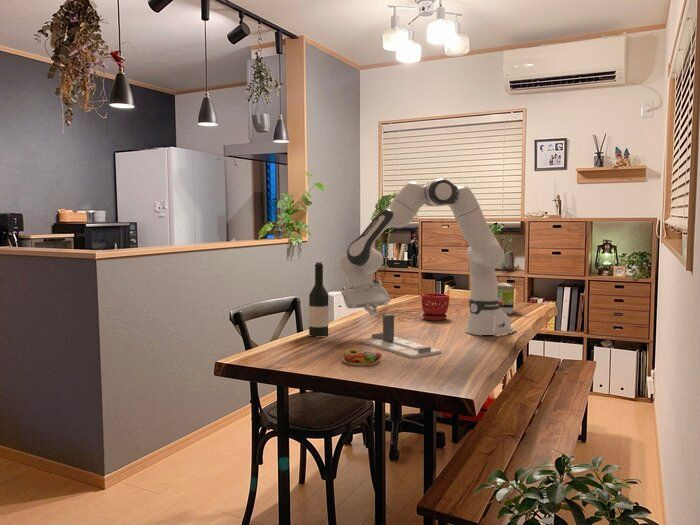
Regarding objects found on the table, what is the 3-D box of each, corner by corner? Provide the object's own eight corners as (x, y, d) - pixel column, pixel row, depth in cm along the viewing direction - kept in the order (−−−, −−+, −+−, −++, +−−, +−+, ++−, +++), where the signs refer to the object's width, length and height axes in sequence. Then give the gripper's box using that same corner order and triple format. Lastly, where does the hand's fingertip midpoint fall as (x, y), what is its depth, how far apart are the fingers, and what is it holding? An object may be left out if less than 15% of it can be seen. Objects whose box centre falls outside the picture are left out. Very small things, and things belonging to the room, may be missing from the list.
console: (389, 337, 226) (389, 331, 226) (441, 353, 201) (441, 346, 201) (361, 341, 218) (361, 335, 218) (411, 358, 193) (411, 350, 193)
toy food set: (344, 356, 196) (344, 347, 196) (382, 358, 195) (382, 348, 194) (339, 366, 183) (339, 357, 183) (380, 368, 182) (380, 358, 181)
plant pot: (450, 321, 263) (451, 296, 262) (422, 321, 263) (423, 295, 262) (446, 316, 276) (447, 292, 275) (419, 316, 276) (420, 292, 275)
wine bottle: (331, 334, 232) (332, 262, 229) (324, 338, 224) (324, 263, 222) (313, 332, 235) (313, 261, 232) (305, 336, 227) (305, 262, 224)
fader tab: (389, 339, 217) (389, 313, 217) (393, 340, 215) (394, 314, 214) (382, 340, 216) (383, 314, 215) (387, 341, 213) (387, 315, 212)
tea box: (513, 314, 283) (514, 285, 282) (494, 314, 284) (494, 285, 282) (506, 309, 298) (506, 282, 297) (487, 309, 299) (488, 282, 297)
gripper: (342, 283, 221) (356, 311, 214) (383, 280, 233) (398, 307, 225) (336, 293, 225) (349, 321, 218) (377, 290, 237) (390, 316, 230)
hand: (374, 314), depth 222 cm, fingers closed
